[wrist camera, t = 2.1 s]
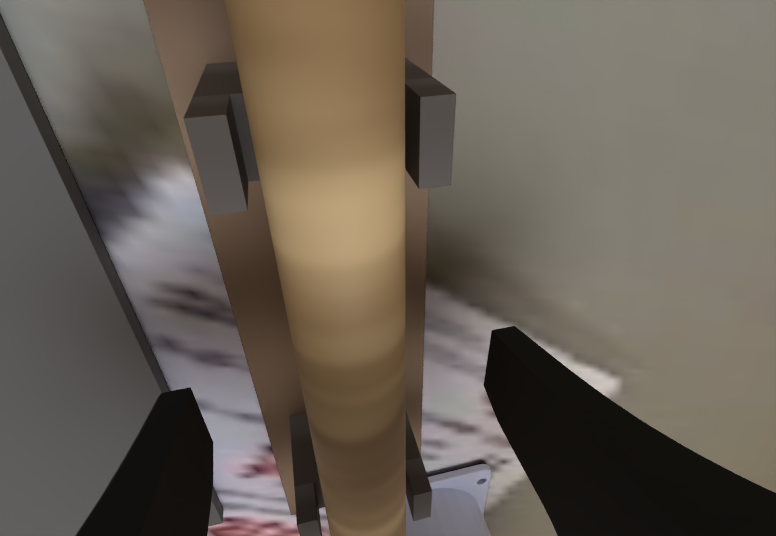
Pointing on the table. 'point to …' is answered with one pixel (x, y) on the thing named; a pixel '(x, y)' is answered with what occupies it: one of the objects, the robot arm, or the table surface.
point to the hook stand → (253, 237)
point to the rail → (337, 231)
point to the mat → (59, 333)
